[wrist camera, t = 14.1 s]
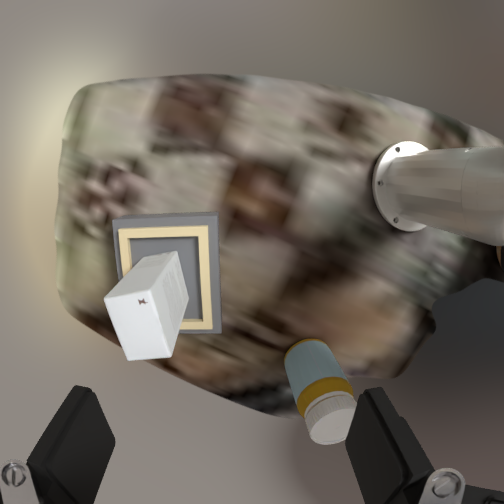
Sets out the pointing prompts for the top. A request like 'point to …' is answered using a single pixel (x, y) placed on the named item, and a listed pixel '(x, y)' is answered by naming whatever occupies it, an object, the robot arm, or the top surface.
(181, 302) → the skincare box
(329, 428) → the bottle
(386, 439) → the robot arm
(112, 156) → the top surface
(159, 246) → the tray
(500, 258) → the ceramic vessel
